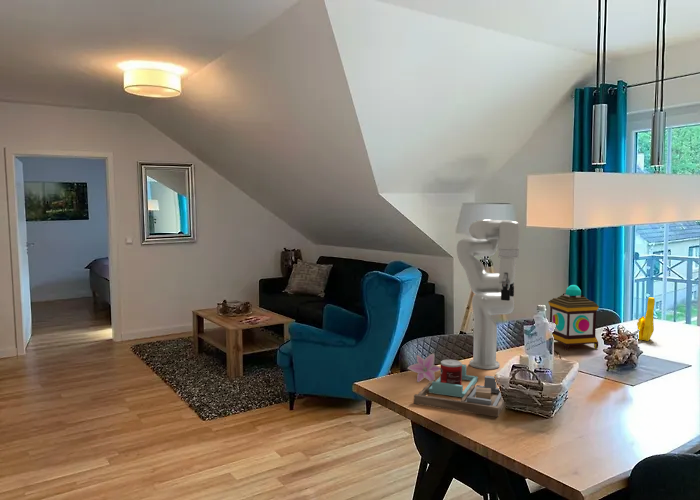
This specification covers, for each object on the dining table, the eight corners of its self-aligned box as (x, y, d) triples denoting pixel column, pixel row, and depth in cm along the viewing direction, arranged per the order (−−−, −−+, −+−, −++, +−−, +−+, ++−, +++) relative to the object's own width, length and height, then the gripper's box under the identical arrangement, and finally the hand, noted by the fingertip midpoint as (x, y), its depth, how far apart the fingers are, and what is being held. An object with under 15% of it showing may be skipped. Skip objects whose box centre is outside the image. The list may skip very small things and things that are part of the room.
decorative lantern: (602, 349, 267) (605, 287, 264) (565, 352, 263) (567, 288, 260) (577, 339, 287) (579, 281, 284) (541, 341, 282) (543, 282, 280)
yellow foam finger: (639, 335, 295) (641, 293, 293) (656, 337, 290) (658, 295, 288) (632, 342, 281) (634, 298, 279) (649, 344, 276) (651, 300, 274)
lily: (403, 381, 224) (405, 364, 219) (417, 363, 232) (420, 346, 227) (430, 395, 219) (433, 378, 213) (444, 376, 227) (447, 359, 222)
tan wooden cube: (476, 400, 200) (476, 387, 199) (490, 402, 198) (491, 388, 198) (475, 405, 195) (475, 391, 194) (490, 407, 194) (490, 393, 193)
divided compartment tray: (431, 384, 217) (432, 377, 216) (508, 395, 205) (509, 387, 204) (413, 403, 197) (414, 395, 196) (497, 416, 185) (498, 408, 184)
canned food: (448, 386, 215) (448, 358, 214) (465, 391, 209) (466, 362, 208) (435, 391, 210) (436, 362, 209) (453, 396, 204) (453, 366, 203)
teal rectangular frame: (444, 375, 227) (444, 362, 227) (478, 379, 222) (478, 366, 221) (428, 392, 207) (429, 378, 207) (465, 397, 202) (465, 382, 201)
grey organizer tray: (476, 388, 212) (477, 374, 211) (505, 392, 207) (505, 377, 207) (463, 408, 191) (463, 392, 191) (494, 413, 187) (494, 397, 187)
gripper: (502, 251, 224) (501, 294, 225) (494, 255, 208) (493, 301, 209) (521, 252, 220) (520, 295, 222) (515, 256, 205) (514, 302, 206)
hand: (507, 298), depth 216 cm, fingers open, 9 cm apart
